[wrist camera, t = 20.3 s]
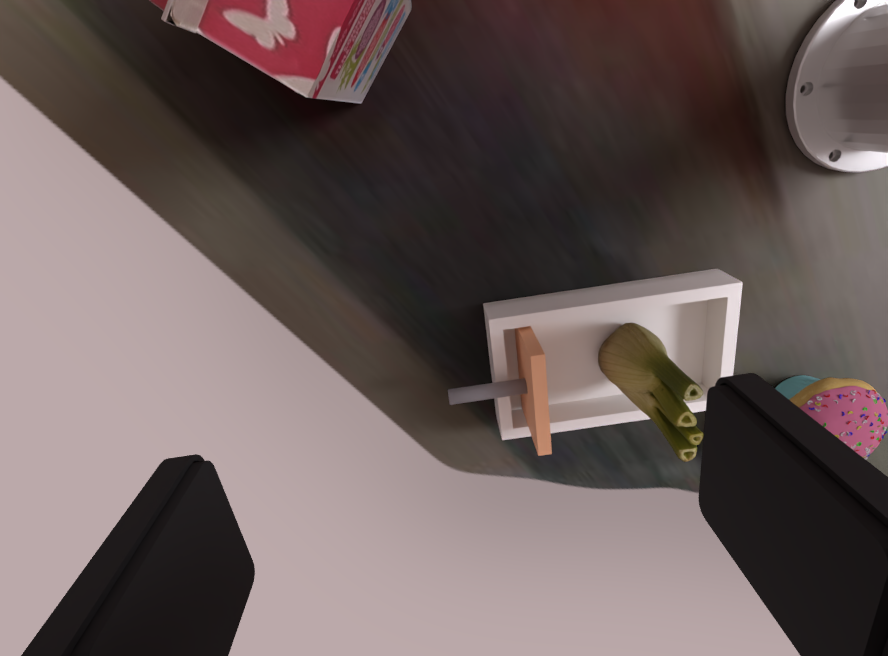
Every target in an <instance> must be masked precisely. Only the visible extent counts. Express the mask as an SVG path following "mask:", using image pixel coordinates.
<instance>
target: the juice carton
mask: <svg viewBox="0 0 888 656" xmlns="http://www.w3.org/2000/svg"><path fill="white" fill-rule="evenodd" d="M149 1H151V2H152V3H153V4H155V5H156V6H157V7H159V8H160V9H161V10H163V11H164V12H163V15H162V18H161V19H162V20H163V21H165V22H167V23H169V24H171V25H174V26H177V27H179V28H182V29H184V30H187V31H189V32H192V33H193V32H194V33H196V32H197V33H198V34H200V35H202V36H204V37H205V38H207V39H209V40H210V41H212V42H214V43H215V44H217V45H219V46H220V47H222V48H224V49H225V50H227V51H229V52H230V53H232V54H234V55H235V56H237V57H239V58H241V59H242V60H244V61H246V62H247V63H249V64H251V65H252V66H254V67H256V68H257V69H259V70H261V71H262V72H264V73H266V74H267V75H269V76H271V77H272V78H274V79H276V80H278V81H279V82H281V83H282V84H284V85H285V86H287V87H289V88H290V89H292V90H293V91H295V92H296V93H298V94H299V95H301V96H303V97H305V98H311V99H323V100H334V101H342V102H351V103H360V104H362V102H363V100H364V98H365V96H366V94H367V92H368V90H369V88H370V87H371V85H372V83H373V81H374V79H375V77H376V75H377V73H378V71H379V69H380V68H381V66H382V64H383V62H384V60H385V58H386V56H387V54H388V52H389V51H390V49H391V47H392V45H393V43H394V41H395V39H396V37H397V35H398V34H399V32H400V30H401V28H402V26H403V24H404V22H405V20H406V18H407V17H408V15H409V13H410V11H411V9H412V8H411V0H149Z"/></svg>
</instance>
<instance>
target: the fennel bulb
mask: <svg viewBox="0 0 888 656" xmlns="http://www.w3.org/2000/svg"><path fill="white" fill-rule="evenodd" d="M598 364H599V367H600V370H601V371H602V373H603V374H605V375H606V377H607V378H608V380H609V381H611V382H612V383H613V384H615V385H616V386H617V387H618V388H619V389H620V390H621V391H622V393H624V394H625V395H626V396H627V397H628V398H629V399H630V400H631V402H632V403H634V404H635V405H636V406H637V407H638V408H639V409H640V410H641V411H642V412H644V413H645V414H646V415H647V416H648V417H649V418H651V419H652V420H653V421H654V422H655V424H656V425H657V426H658V428H659V429H660V430H661V432H662V433H663V435H664V436H665V438H666V439H667V441H668V442H669V444H670V445H671V447H672V448H673V450H674V452H675V453H676V455H677V457H678V458H679V459H681V460H682V461H684V462H686V461H689V460H692V459H693V458H694V457H695V456H696V452H697V446H696V445H698V444H700V442H701V441H702V439H703V436H704V434H703V433H702V432H701V431H700V430H699V429H698V428H697V427H696V423H697V419H696V418H695V416H694V415H693V413H692V412H691V410H690V409H689V407H688V406H687V405H686V403H685V402H684V400H685V401H690V400H696V399H699V398H701V396H702V395H703V390H702V389H701V388H700V386H699V385H698V384H697V383H695V382H694V381H693V380H692V379H691V378H690V377H688V376H687V375H686V374H685V373H684V372H683V371H682V370H681V369H680V368H679V367H678V366H677V365H676V364H675V363H674V362H673V361H672V360H671V359H670V358H669V357H668V355H667V350H666V348H665V346H664V345H663V343H662V341H661V340H660V339H659V338H658V337H657V336H656V335H655V334H653V333H652V332H651V331H650V330H648V329H646V328H645V327H643V326H640V325H638V324H636V323H625V324H623V325H621V326H620V327H619V328H618V329H617V330H616V331H615V332H613V333H612V334H611V335H610V336H609V337H608V338H607V339H606V340H605V341H604V342H603V343H602V345H601V347H600V349H599V353H598Z"/></svg>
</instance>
